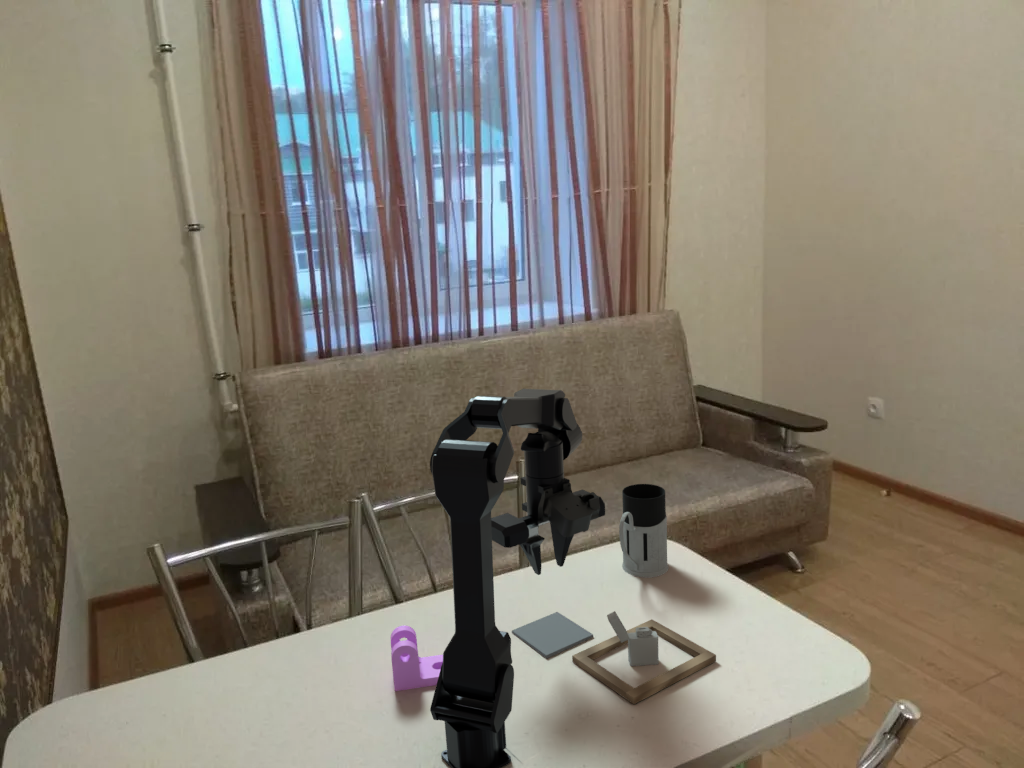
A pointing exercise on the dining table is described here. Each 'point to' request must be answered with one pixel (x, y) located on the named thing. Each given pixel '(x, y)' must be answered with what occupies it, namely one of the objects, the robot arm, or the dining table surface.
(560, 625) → the mat
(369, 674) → the dining table surface
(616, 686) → the frame
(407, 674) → the bracket
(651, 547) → the glass holder
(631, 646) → the lighter
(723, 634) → the dining table surface
